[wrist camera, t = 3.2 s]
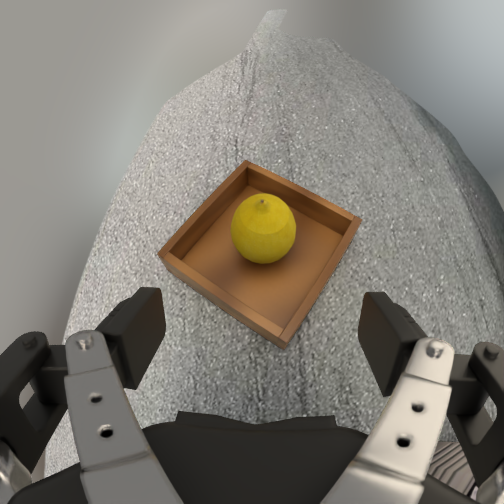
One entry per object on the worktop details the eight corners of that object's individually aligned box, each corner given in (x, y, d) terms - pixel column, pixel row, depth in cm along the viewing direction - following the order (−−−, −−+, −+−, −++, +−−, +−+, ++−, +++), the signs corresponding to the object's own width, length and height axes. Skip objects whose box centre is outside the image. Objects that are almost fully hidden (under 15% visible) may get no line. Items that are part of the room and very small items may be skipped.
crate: (167, 269, 29) (156, 253, 26) (246, 180, 34) (245, 159, 31) (283, 350, 25) (287, 343, 22) (353, 238, 30) (362, 219, 27)
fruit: (286, 282, 27) (296, 238, 20) (228, 272, 28) (217, 225, 21) (295, 231, 30) (304, 178, 23) (241, 223, 30) (235, 168, 23)
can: (404, 433, 20) (487, 441, 10) (484, 439, 18) (565, 436, 8) (360, 536, 15) (411, 593, 5) (448, 531, 13) (514, 559, 3)
